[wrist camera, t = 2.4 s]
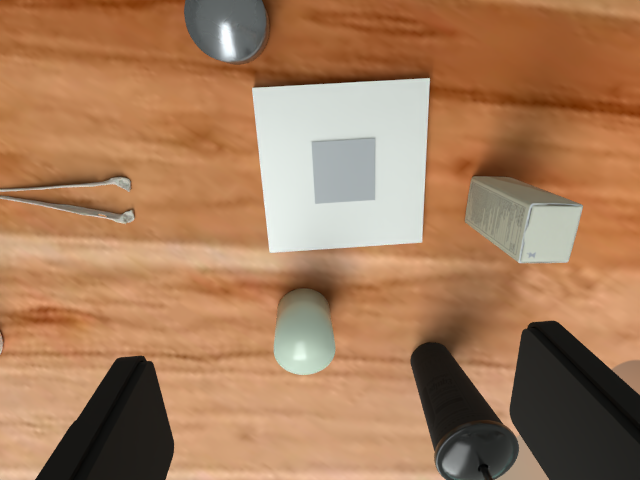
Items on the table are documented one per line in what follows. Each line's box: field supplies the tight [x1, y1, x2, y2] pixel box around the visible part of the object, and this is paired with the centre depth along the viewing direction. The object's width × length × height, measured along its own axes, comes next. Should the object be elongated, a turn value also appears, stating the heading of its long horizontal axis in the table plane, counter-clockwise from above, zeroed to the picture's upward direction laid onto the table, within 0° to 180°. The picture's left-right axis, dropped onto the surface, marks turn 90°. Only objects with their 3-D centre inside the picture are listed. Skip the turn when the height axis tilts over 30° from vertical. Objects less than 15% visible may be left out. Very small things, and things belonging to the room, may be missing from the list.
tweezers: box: [0, 177, 135, 224], centre depth 38 cm, size 17×5×2 cm, turn 86°
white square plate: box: [252, 78, 430, 253], centre depth 38 cm, size 16×16×1 cm
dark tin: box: [184, 0, 270, 65], centre depth 32 cm, size 6×6×5 cm
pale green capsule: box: [274, 288, 335, 375], centre depth 41 cm, size 6×6×7 cm
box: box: [465, 176, 583, 263], centre depth 36 cm, size 5×4×11 cm
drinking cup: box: [411, 343, 519, 480], centre depth 39 cm, size 8×8×20 cm
